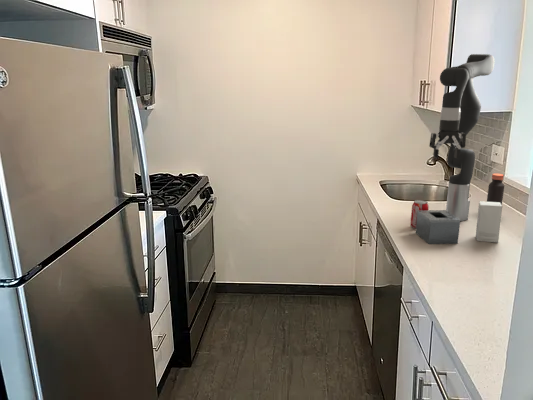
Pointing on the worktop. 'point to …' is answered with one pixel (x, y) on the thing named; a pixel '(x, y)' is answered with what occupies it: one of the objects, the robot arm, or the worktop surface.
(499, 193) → the bottle
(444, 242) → the box
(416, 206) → the soda can
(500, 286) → the worktop surface
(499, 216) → the skincare box
